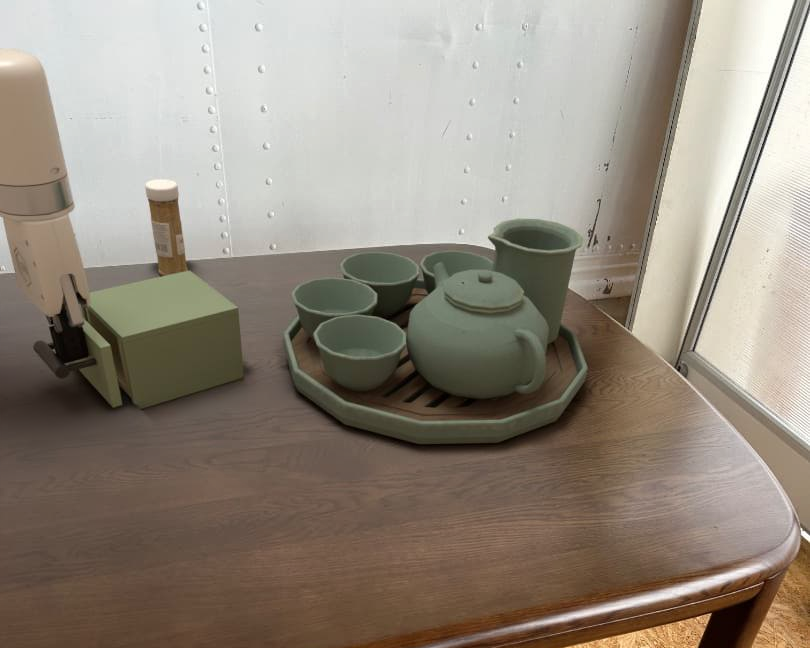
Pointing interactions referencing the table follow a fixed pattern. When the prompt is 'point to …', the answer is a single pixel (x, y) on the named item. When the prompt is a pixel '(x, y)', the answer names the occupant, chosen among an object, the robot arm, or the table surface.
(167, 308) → the cabinet
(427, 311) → the tea set
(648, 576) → the table surface
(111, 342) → the drawer
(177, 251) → the sprinkles bottle
